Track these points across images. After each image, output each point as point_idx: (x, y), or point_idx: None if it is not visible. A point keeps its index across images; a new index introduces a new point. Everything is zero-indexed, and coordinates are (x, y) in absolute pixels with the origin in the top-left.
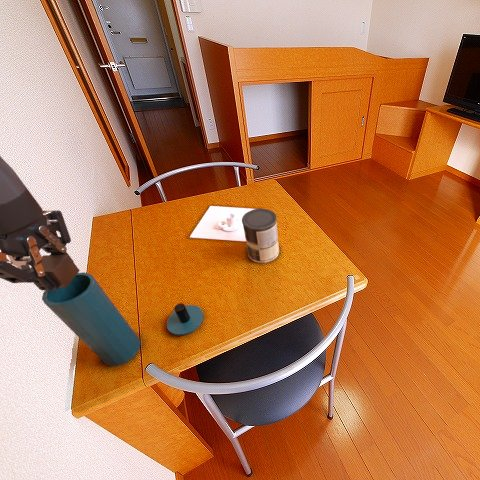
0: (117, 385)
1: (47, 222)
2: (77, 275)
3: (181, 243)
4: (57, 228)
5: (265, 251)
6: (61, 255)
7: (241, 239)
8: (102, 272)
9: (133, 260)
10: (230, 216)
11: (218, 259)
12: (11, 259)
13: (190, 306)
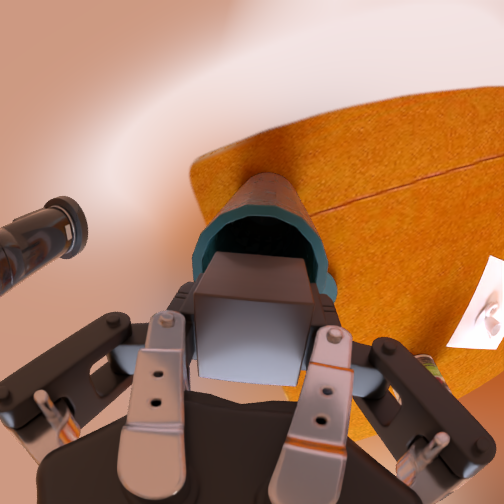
0: (206, 215)
1: (402, 472)
2: (316, 270)
3: (482, 244)
4: (393, 438)
5: (396, 395)
6: (296, 371)
7: (452, 339)
8: (446, 113)
9: (466, 164)
10: (498, 325)
11: (427, 314)
12: (137, 373)
13: (333, 298)
